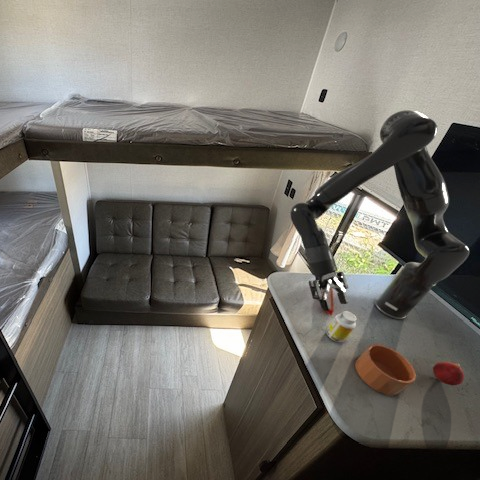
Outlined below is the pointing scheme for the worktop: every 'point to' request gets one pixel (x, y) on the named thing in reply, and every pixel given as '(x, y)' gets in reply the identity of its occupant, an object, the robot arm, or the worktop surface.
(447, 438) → the worktop surface
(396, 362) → the orange-brown round open container
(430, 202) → the robot arm
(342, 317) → the supplement bottle
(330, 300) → the candy bar
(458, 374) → the red oval piece
